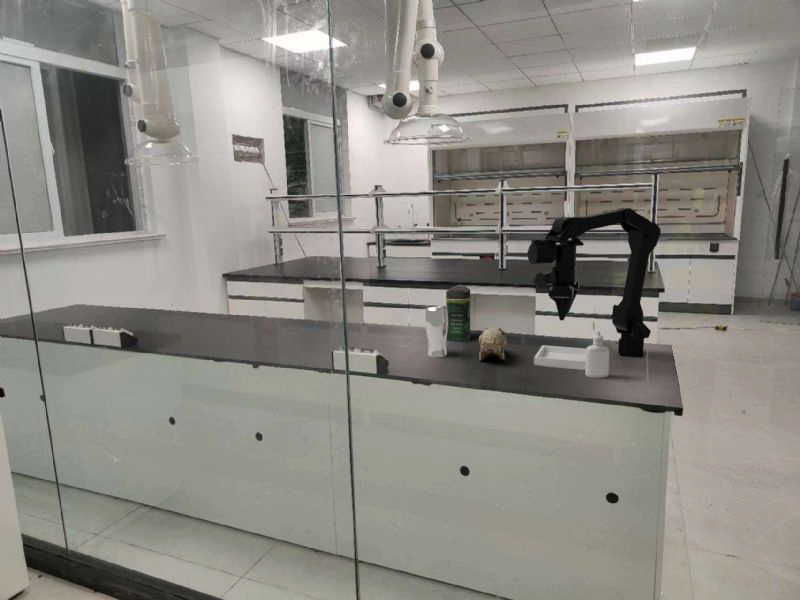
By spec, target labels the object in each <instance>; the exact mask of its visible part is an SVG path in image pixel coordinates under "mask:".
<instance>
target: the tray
mask: <svg viewBox="0 0 800 600" xmlns="http://www.w3.org/2000/svg"><path fill="white" fill-rule="evenodd" d="M586 349H587V348H584V347H583V348H582V347H568V346H557V345H543V344H542V345H541V346H540V348H539V349H538V351H537V353H536V354H535V355H534V357H533V365H534V366H538V365H539V367H548V368H555V367H556V369H570V370H579V371H586Z"/></svg>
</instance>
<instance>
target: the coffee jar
mask: <svg viewBox="0 0 800 600" xmlns="http://www.w3.org/2000/svg"><path fill="white" fill-rule="evenodd" d="M445 294H446V295H445V297H446V298H445V305H446V306H445V307H446V308H447V310H448V333H447V339H446V341H449V342H456V343H462V342H463V343H465V342H468V341H469V340H470V339H471V289H470V288H468V286H467V285H455V286H453V287H451V288H448V290H446V292H445Z"/></svg>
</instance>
